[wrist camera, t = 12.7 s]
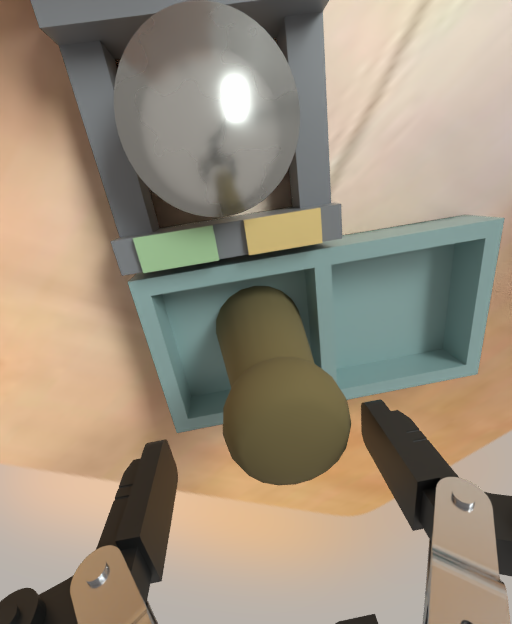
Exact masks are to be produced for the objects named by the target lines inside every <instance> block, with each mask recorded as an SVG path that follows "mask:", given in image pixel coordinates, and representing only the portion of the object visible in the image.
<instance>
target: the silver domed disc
mask: <svg viewBox="0 0 512 624" xmlns="http://www.w3.org/2000/svg"><path fill="white" fill-rule="evenodd" d="M114 113H115V121H116V126H117V130H118V135H119V138H120V141H121V143H122V146H123V149H124V151H125V153H126V155H127V157H128V160H129V161H130V163H131V165H132V166H133V168H134V170H135V171H136V173H137V174H138V175H139V177H140V178H141V179H142V180H143V182H144V183H145V184H146V185H147V186H148V187H149V188H150V189H151V190H152V191H153V192H154V193H155V194H156V195H158V196H159V197H160V198H161V199H163V200H164V201H166V202H167V203H169V204H170V205H172V206H174V207H176V208H178V209H180V210H182V211H185V212H188V213H191V214H194V215H199V216H205V217H223V216H230V215H234V214H238V213H241V212H243V211H246V210H248V209H250V208H252V207H254V206H255V205H257V204H258V203H260V202H261V201H263V200H264V199H265V198H266V197H267V196H268V195H269V194H271V193H272V192H273V191H274V189H275V188H276V187H277V186H278V184H279V183H280V182H281V181H282V179H283V177H284V176H285V174H286V172H287V171H288V168H289V166H290V164H291V162H292V160H293V156H294V153H295V150H296V147H297V142H298V137H299V128H300V106H299V99H298V92H297V88H296V84H295V80H294V77H293V75H292V72H291V69H290V66H289V64H288V62H287V60H286V58H285V56H284V54H283V53H282V51H281V50H280V48H279V47H278V45H277V44H276V42H275V41H274V40H273V38H272V37H271V36H270V35H269V34H268V33H267V31H266V30H265V29H264V28H263V27H261V26H260V25H259V24H258V23H257V22H256V21H255V20H253V19H252V18H250V17H249V16H248V15H246V14H245V13H243V12H241V11H239V10H237V9H235V8H233V7H231V6H228V5H225V4H222V3H218V2H213V1H206V0H194V1H186V2H181V3H176V4H174V5H171V6H169V7H166V8H164V9H162V10H161V11H159V12H157V13H156V14H154V15H153V16H151V17H150V18H149V19H148V20H147V21H146V22H144V23H143V24H142V25H141V26H140V28H139V29H138V30H137V31H136V32H135V34H134V35H133V36H132V38H131V40H130V41H129V43H128V45H127V46H126V48H125V50H124V53H123V55H122V57H121V60H120V62H119V66H118V70H117V74H116V79H115V86H114Z"/></svg>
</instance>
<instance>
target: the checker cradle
mask: <svg viewBox="0 0 512 624" xmlns="http://www.w3.org/2000/svg"><path fill="white" fill-rule="evenodd" d="M186 1H194V0H31V4H32V7H33V10H34V13H35V16H36V19H37V22H38V25H39V28H40V29H41V30H42V31H43V32H45V33H46V34H47V35H48V36H49V37H50V38H51V39H52V40H53V41H54V42H55V43H56V44H58V45H59V48H60V51H61V54H62V57H63V60H64V63H65V66H66V70H67V73H68V76H69V79H70V82H71V85H72V88H73V92H74V95H75V98H76V101H77V104H78V107H79V110H80V114H81V117H82V120H83V123H84V126H85V129H86V132H87V136H88V139H89V142H90V145H91V148H92V151H93V154H94V158H95V161H96V164H97V167H98V170H99V173H100V176H101V180H102V183H103V186H104V189H105V192H106V195H107V198H108V202H109V205H110V208H111V211H112V214H113V217H114V220H115V224H116V227H117V230H118V233H119V236H120V238H117V239H115V240H113V241H111V244H112V247H113V250H114V253H115V256H116V260H117V263H118V266H119V269H120V272H121V275H122V276H123V275H129V274H135V273H141V272H143V273H148V272H154V271H160V270H166V269H171V268H177V267H183V266H189V265H195V264H201V263H207V262H213V261H219V259H224V258H230V257H236V256H242V255H248V254H249V255H254V254H260V253H266V252H272V251H278V250H284V249H290V248H296V247H302V246H308V245H314V244H319V243H323V242H325V241H331V240H336V239H342V219H341V204H336V203H331V190H330V167H329V145H328V122H327V99H326V77H325V54H324V32H323V10H324V8H325V6H326V5H327V3H328V1H329V0H206V1H213V2H218V3H222V4H225V5H228V6H231V7H233V8H235V9H237V10H239V11H241V12H243V13H245V14H246V15H248V16H249V17H250V18H252V19H253V20H255V21H256V22H257V23H258V24H259V25H260V26H261V27H263V28H264V29H265V30H266V31H267V33H268V34H269V35H270V36H271V37H272V38H277V45H278V47H279V48H280V50H281V51H282V53H283V54H284V56H285V58H286V60H287V62H288V64H289V66H290V69H291V72H292V75H293V77H294V80H295V84H296V88H297V92H298V99H299V106H300V128H299V137H298V142H297V147H296V150H295V153H294V156H293V160H292V162H291V164H290V166H289V175H290V186H291V197H292V207H288V208H282V209H276V210H270V211H263V212H257V213H251V214H245V215H239V216H233V217H226V218H220V219H214V220H208V221H202V222H196V223H189V224H183V225H177V226H171V227H165V228H159V225H158V221H157V217H156V213H155V209H154V206H153V202H152V198H151V194H150V191H149V187H148V186H147V185H146V184H145V183H144V182H143V180H142V179H141V178H140V177H139V175H138V174H137V173H136V171H135V170H134V168H133V166H132V165H131V163H130V161H129V160H128V157H127V155H126V153H125V151H124V149H123V146H122V143H121V141H120V138H119V135H118V130H117V126H116V121H115V113H114V86H115V79H116V74H117V70H118V69H117V66H116V62H115V59H121V57H122V55H123V53H124V50H125V48H126V46H127V45H128V43H129V41H130V40H131V38H132V36H133V35H134V34H135V32H136V31H137V30H138V29H139V28H140V26H141V25H142V24H143V23H144V22H146V21H147V20H148V19H149V18H150V17H151V16H153V15H154V14H156V13H157V12H159V11H161V10H162V9H164V8H166V7H169V6H171V5H174V4H176V3H181V2H186Z"/></svg>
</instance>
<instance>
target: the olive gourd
mask: <svg viewBox="0 0 512 624" xmlns="http://www.w3.org/2000/svg"><path fill="white" fill-rule="evenodd" d="M216 334H217V338H218V342H219V345H220V349H221V353H222V356H223V360H224V364H225V367H226V371H227V375H228V378H229V382H230V385H231V390H230V392H229V395H228V397H227V399H226V402H225V405H224V407H223V436H224V438H225V441H226V444H227V447H228V449H229V452H230V454H231V457H232V459H233V460H234V461H235V462H236V463H237V464H238V465H239V466H240V467H241V468H242V469H243V470H244V471H245V472H246V473H247V474H248V475H249V476H251V477H253V478H255V479H257V480H259V481H261V482H263V483H269V484H274V485H291V484H298V483H301V482H305V481H308V480H312V479H313V478H315V477H317V476H319V475H321V474H323V473H324V472H326V471H327V470H328V469H330V468H331V467H332V466H333V465H334V464H335V463H336V462H337V461H338V460H339V458H340V457H341V455H342V454H343V452H344V450H345V449H346V446H347V442H348V437H349V433H350V428H351V420H350V414H349V408H348V404H347V400H346V397H345V396H344V394H343V393H342V391H341V390H340V388H339V387H338V385H337V383H336V382H335V380H334V379H333V377H332V376H331V375H329V374H328V373H327V372H325V371H324V370H323V369H321V368H320V367H319V366H317V365H316V364H315V363H314V360H313V356H312V353H311V350H310V347H309V343H308V340H307V337H306V333H305V330H304V327H303V323H302V320H301V317H300V314H299V310H298V308H297V307H296V305H295V303H294V302H293V300H292V299H291V298H290V297H289V296H288V295H286V294H285V293H284V292H282V291H281V290H278V289H275V288H272V287H270V286H252V287H249V288H245V289H241V290H240V291H238V292H237V293H235V294H233V295H232V296H230V297H229V298H228V299H227V301H226V302H225V303H224V304H223V306H222V307H221V308H220V311H219V314H218V316H217V319H216Z"/></svg>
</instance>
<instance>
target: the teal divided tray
mask: <svg viewBox="0 0 512 624" xmlns="http://www.w3.org/2000/svg"><path fill="white" fill-rule="evenodd" d="M503 223H504V218H497V217H485V216H473V215H461V216H455V217H449V218H443V219H437V220H431V221H425V222H420V223H414V224H408V225H402V226H396V227H390V228H384V229H378V230H372V231H366V232H360V233H354V234H348V235H342V239H336V240H331V241H325V242H323V243H319V244H314V245H308V246H302V247H296V248H290V249H284V250H278V251H272V252H266V253H260V254H254V255H249V254H248V255H242V256H236V257H230V258H224V259H219V261H213V262H207V263H201V264H195V265H189V266H183V267H177V268H171V269H166V270H160V271H154V272H148V273H143V272H141V273H137V274H136V275H135V276H134V277H132V278H131V279H130V280H129V281H128V285H129V288H130V291H131V294H132V297H133V300H134V303H135V306H136V309H137V312H138V315H139V319H140V322H141V325H142V328H143V331H144V334H145V337H146V340H147V343H148V346H149V349H150V352H151V355H152V358H153V361H154V364H155V367H156V370H157V374H158V377H159V380H160V383H161V386H162V389H163V392H164V395H165V398H166V401H167V404H168V407H169V410H170V413H171V416H172V419H173V422H174V425H175V429H176V432H177V433H180V432H185V431H190V430H195V429H200V428H205V427H211V426H216V425H221V424H223V407H224V405H225V402H226V399H227V397H228V395H229V392H230V390H231V385H230V382H229V378H228V375H227V371H226V367H225V364H224V360H223V356H222V353H221V349H220V345H219V342H218V338H217V334H216V319H217V316H218V314H219V311H220V308H221V307H222V306H223V304H224V303H225V302H226V301H227V299H228V298H229V297H230V296H232V295H233V294H235V293H237V292H238V291H240V290H241V289H245V288H249V287H252V286H270V287H272V288H275V289H278V290H281V291H282V292H284V293H285V294H286V295H288V296H289V297H290V298H291V299H292V300H293V302H294V303H295V305H296V307H297V308H298V310H299V314H300V317H301V320H302V323H303V327H304V330H305V333H306V337H307V340H308V343H309V347H310V350H311V353H312V356H313V360H314V363H315V364H316V365H317V366H319V367H320V368H321V369H323V370H324V371H325V372H327V373H328V374H329V375H331V376H332V377H333V379H334V380H335V382H336V383H337V385H338V387H339V388H340V390H341V391H342V393H343V394H344V396H345V397H346V400H348V399H353V398H358V397H363V396H369V395H374V394H379V393H384V392H389V391H394V390H399V389H404V388H409V387H414V386H420V385H425V384H430V383H435V382H440V381H445V380H450V379H455V378H460V377H465V376H471V375H476V374H478V368H479V362H480V356H481V351H482V345H483V339H484V333H485V327H486V322H487V316H488V310H489V304H490V299H491V293H492V287H493V281H494V275H495V270H496V264H497V258H498V252H499V247H500V241H501V235H502V229H503Z"/></svg>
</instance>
